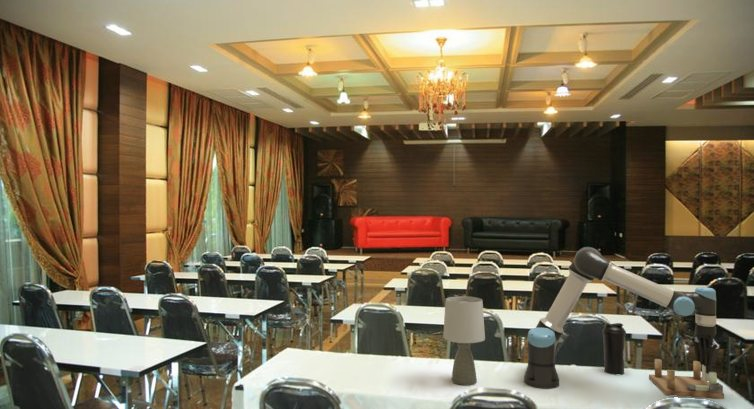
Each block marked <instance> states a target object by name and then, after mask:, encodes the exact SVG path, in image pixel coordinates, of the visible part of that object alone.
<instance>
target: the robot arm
mask: <svg viewBox="0 0 754 409" xmlns="http://www.w3.org/2000/svg"><path fill="white" fill-rule="evenodd" d="M568 271H569V274H568V276H567V278H566V280H565V281H564V283H563V285H562V286H561V289H560V290H559V292H558V293H557V295H556V297H555V299H554V301H553V303H552V305H551V307H550V308H549V309H548V312H547V314H546V315H545V317H541V318H540V319H539V321H538V323H537V324H536V325H535V327H534V328H531V329H529V331H528V332H527V336H526V337H527V366H526V369H525V373H524V374H523V383H524V384H526V385H527V386H529V387H534V388H539V389H554V388H557V387H559V386H560V377H559V375H558V371H557V368H556V348H557V345H558V343H559V342H560V339H561V337H563V334H564V331H565V330H564V329H563V327H564V326H565V324H566V321H567V320H568V319H569V316H570V315H571V313H572V311H573V309H574V307H575V306H576V304H577V302H578V301H579V299H580V297H581V296H582V294H583V291H584V290H585V288H586V286H587V284H588V283H591V282H593V281H594V280H595V279H596V280H597V281H600V282H604V281H606V282H608V283H611V284H612V285H615V286H617V287H619V288H622V289H624V290H626V291H629V292H631V293H632V294H635V295H638V296H639V297H642V298H644V299H647V300H649V301H651V302H653V303H655V304H657V305H660V306H661V307H664V308H666V309H668V310H671V311H672V312H675V313H676V314H677V315H680V316H681V317H688V316H690V315H692V314H693V313H694V312H695V323H696V324H694V325H695V326H694V327H695V333H696V336H695V337H691V341H692V343H693V347H694V353H695V358H696V361H698V362H700V364H701V377H702V380H703V381H707V382H709V372H712V366H713V367H714V366H716V365H717V360H718V355H719V350H720V349H721V344H720V343H717V342H716V337H715V336H716V335H717V326H716V325H717V295H716V294H717V292H716V290H715V289H714V288H713V287H712V288H711V287H703V286H702V287H700V286H699V287H695V289H694V291H677V290H672V289H670V288H667V287H665V286H663V285H661V284H658V283H657V282H654V281H652V280H650V279H647V278H645V277H642V276H640V275H638V274H635V273H633V272H631V271H629V270H626V269H624V268H622V267H620V266H617V265H616V264H613V262H612V260H609V259H607V258H606V257H604V256H603V255H602V254H601V252H600V251H599V250H597V249H596V248H594V247H591V246H586V247H585V246H584V247H582V248H580V249H579V250H577V252H576V254H575V256H574V258H573V260H572V262H571V263H570V265H569V268H568Z"/></svg>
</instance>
